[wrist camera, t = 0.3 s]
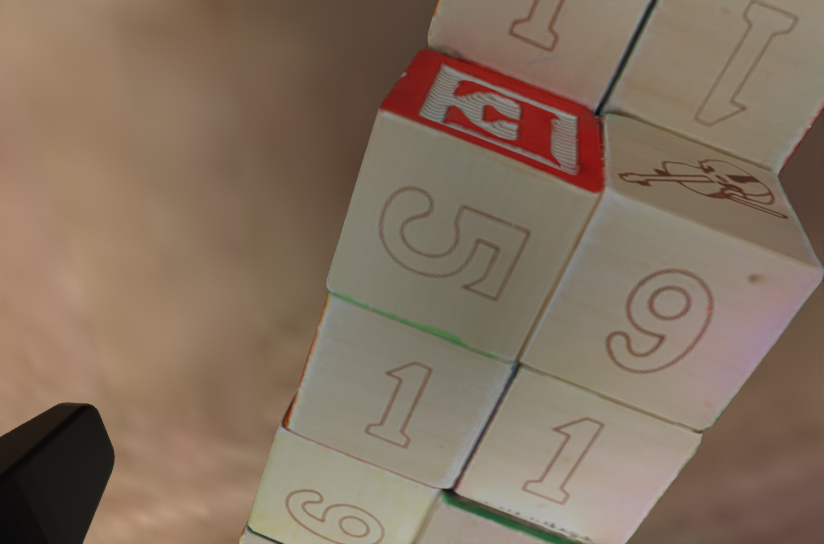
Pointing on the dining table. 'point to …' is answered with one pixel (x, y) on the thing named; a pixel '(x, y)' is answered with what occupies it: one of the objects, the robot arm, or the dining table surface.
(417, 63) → the stack of blocks
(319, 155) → the dining table surface
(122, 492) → the dining table surface
